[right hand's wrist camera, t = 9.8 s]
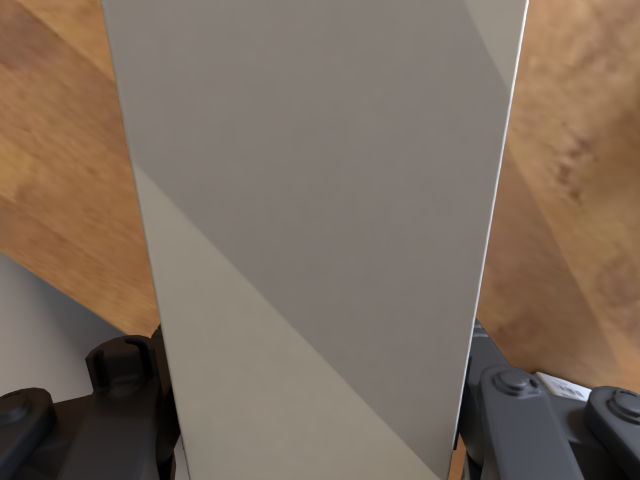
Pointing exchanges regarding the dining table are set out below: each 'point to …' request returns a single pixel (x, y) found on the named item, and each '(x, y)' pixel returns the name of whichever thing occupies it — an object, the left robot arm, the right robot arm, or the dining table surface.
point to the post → (316, 220)
